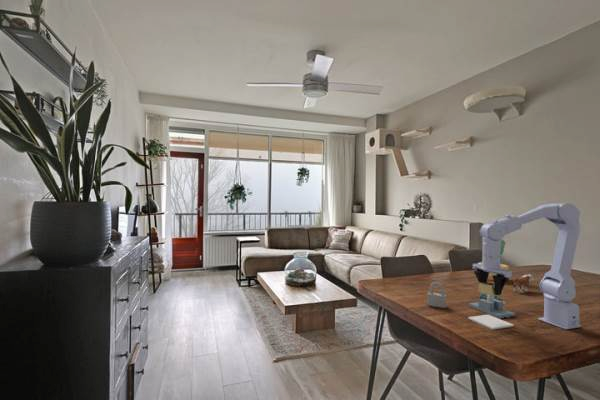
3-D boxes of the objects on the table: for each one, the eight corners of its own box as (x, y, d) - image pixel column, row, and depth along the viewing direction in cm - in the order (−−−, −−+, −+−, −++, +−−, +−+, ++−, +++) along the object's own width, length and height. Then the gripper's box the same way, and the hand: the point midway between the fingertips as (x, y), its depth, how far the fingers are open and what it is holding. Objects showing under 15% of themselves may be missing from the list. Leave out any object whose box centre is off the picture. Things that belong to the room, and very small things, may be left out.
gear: (492, 300, 132) (477, 280, 138) (481, 307, 135) (467, 287, 141) (504, 299, 138) (488, 280, 144) (493, 306, 141) (479, 287, 147)
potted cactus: (513, 283, 168) (514, 237, 168) (482, 280, 171) (483, 236, 171) (502, 276, 183) (502, 234, 183) (473, 274, 186) (474, 233, 186)
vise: (521, 315, 119) (521, 294, 119) (499, 318, 115) (499, 296, 115) (489, 303, 132) (489, 284, 132) (468, 306, 129) (468, 286, 129)
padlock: (445, 305, 129) (446, 282, 129) (445, 308, 125) (446, 284, 125) (427, 303, 132) (428, 280, 132) (427, 305, 128) (427, 282, 128)
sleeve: (503, 294, 112) (503, 285, 112) (491, 296, 110) (491, 286, 110) (489, 290, 117) (489, 281, 117) (478, 291, 115) (478, 282, 115)
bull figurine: (536, 291, 153) (536, 274, 153) (518, 293, 148) (518, 276, 148) (526, 288, 157) (527, 272, 157) (509, 291, 152) (509, 274, 152)
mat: (513, 326, 108) (513, 324, 108) (492, 329, 105) (492, 327, 105) (488, 316, 118) (488, 314, 118) (468, 318, 115) (468, 317, 115)
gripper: (466, 252, 119) (466, 287, 119) (501, 259, 105) (500, 299, 105) (480, 252, 121) (480, 286, 121) (516, 259, 108) (515, 297, 108)
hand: (490, 292), depth 113 cm, fingers closed on sleeve, 5 cm apart
